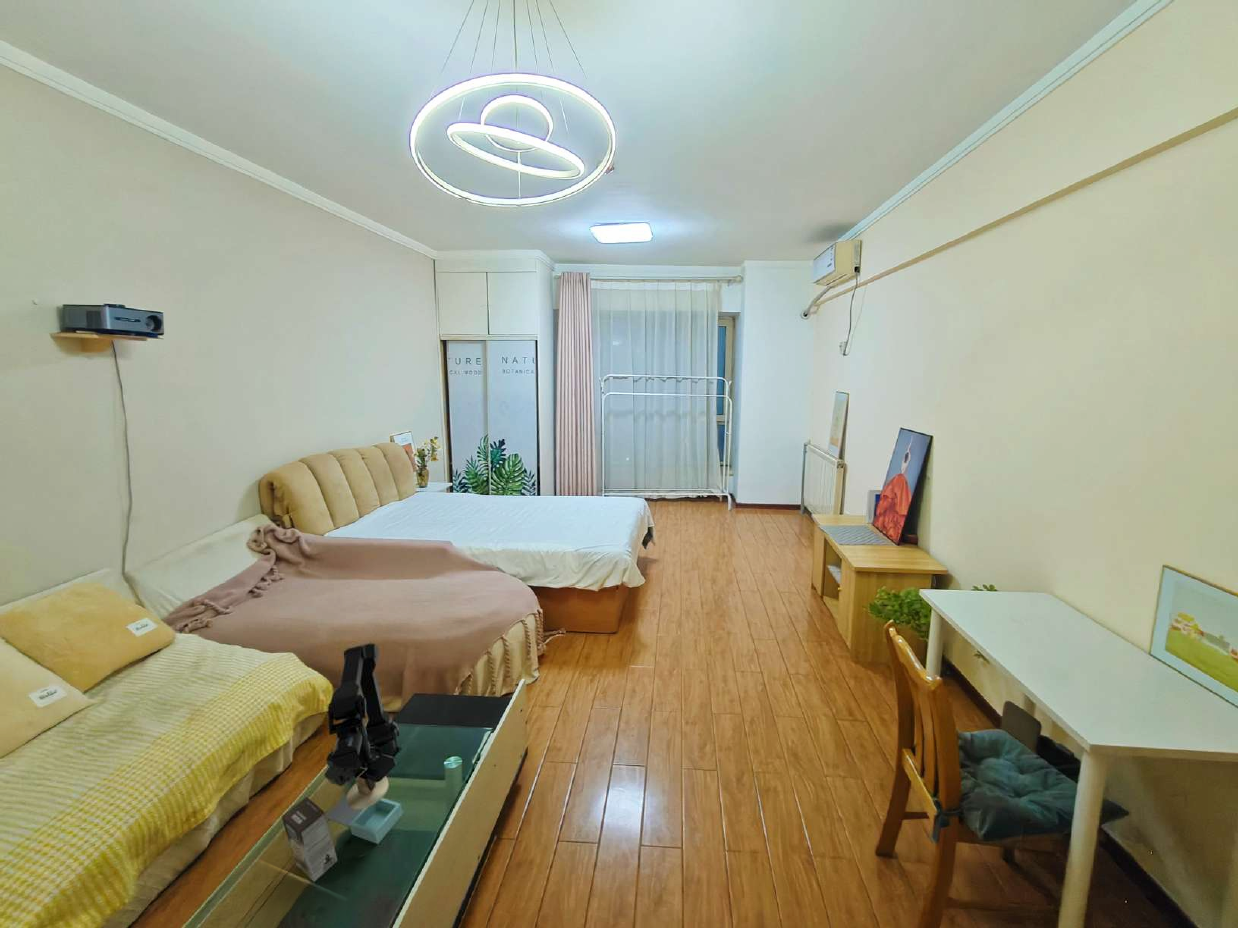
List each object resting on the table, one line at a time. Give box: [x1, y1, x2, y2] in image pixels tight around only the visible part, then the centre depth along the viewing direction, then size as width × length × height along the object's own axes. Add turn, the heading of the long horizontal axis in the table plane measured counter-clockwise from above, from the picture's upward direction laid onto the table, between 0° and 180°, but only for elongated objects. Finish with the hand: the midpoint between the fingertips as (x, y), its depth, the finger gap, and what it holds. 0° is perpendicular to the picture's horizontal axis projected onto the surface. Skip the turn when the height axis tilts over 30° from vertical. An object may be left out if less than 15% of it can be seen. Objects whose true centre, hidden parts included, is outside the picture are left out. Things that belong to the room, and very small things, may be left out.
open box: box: [349, 797, 404, 845], centre depth 139 cm, size 9×9×4 cm
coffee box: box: [281, 796, 338, 882], centre depth 128 cm, size 9×6×16 cm
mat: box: [325, 792, 363, 828], centre depth 146 cm, size 12×10×1 cm
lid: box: [347, 771, 390, 809], centre depth 136 cm, size 10×10×5 cm
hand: (367, 787), depth 136 cm, fingers closed on lid, 3 cm apart
